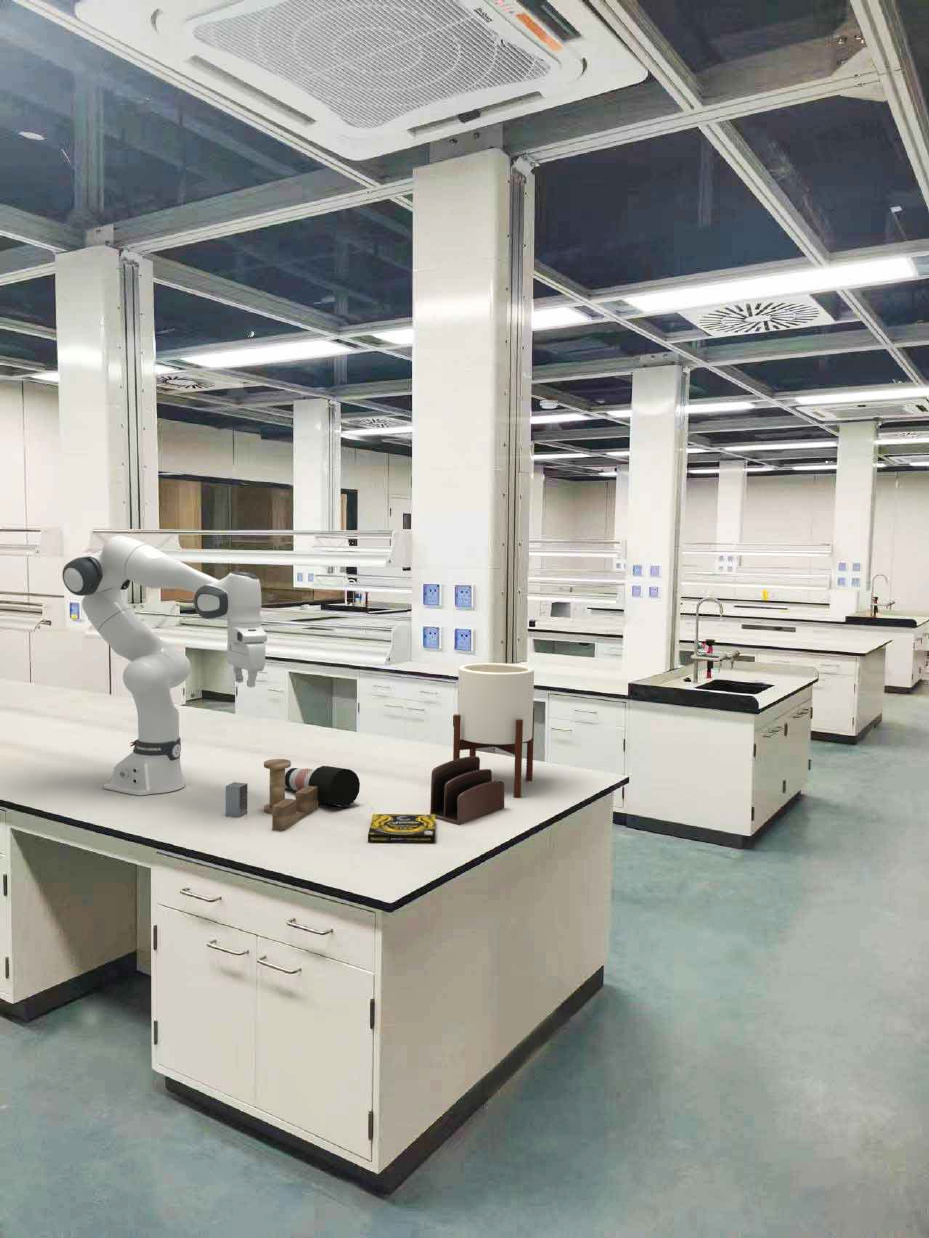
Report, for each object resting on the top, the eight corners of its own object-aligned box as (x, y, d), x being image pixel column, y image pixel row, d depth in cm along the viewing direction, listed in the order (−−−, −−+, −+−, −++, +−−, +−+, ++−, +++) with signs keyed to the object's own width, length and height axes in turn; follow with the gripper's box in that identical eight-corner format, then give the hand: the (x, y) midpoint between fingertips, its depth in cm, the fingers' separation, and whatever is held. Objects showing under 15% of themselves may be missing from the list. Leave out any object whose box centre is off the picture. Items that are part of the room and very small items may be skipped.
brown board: (272, 829, 209) (272, 806, 208) (307, 807, 227) (307, 785, 227) (283, 831, 208) (283, 807, 207) (317, 808, 227) (317, 786, 226)
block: (225, 816, 219) (225, 786, 218) (233, 811, 222) (233, 782, 222) (239, 817, 218) (239, 787, 217) (247, 813, 221) (247, 783, 221)
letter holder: (429, 817, 222) (430, 765, 221) (476, 801, 237) (477, 752, 236) (458, 826, 215) (459, 771, 214) (504, 809, 231) (506, 758, 230)
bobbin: (258, 812, 222) (259, 764, 221) (271, 805, 229) (271, 758, 228) (282, 815, 220) (283, 766, 219) (295, 807, 227) (295, 760, 226)
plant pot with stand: (537, 779, 261) (540, 665, 258) (522, 799, 239) (525, 675, 236) (467, 773, 267) (469, 661, 264) (446, 792, 245) (449, 670, 242)
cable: (284, 796, 252) (295, 764, 255) (352, 811, 228) (364, 775, 231) (257, 786, 246) (269, 754, 249) (324, 800, 222) (337, 764, 225)
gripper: (220, 630, 230) (221, 680, 231) (245, 636, 213) (246, 690, 214) (243, 629, 234) (243, 678, 235) (269, 635, 217) (269, 688, 218)
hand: (245, 684), depth 224 cm, fingers open, 8 cm apart
